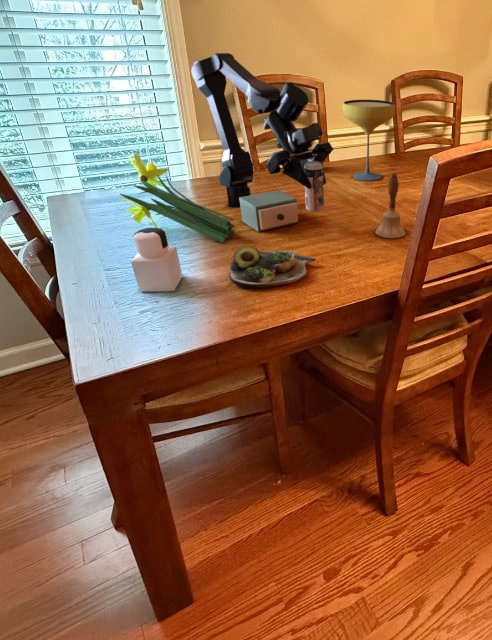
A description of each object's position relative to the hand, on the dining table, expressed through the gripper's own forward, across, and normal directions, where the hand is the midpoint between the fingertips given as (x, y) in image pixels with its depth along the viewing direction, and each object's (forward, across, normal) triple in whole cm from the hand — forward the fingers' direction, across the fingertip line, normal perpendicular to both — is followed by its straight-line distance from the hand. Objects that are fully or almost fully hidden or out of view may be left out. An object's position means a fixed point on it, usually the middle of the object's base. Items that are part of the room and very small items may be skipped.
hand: (317, 186), depth 119 cm
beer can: (+4, 0, +6) cm, 7 cm away
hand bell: (+19, +13, -1) cm, 23 cm away
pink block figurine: (+7, -44, +11) cm, 46 cm away
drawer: (-1, -4, +18) cm, 19 cm away
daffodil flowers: (-10, -23, +29) cm, 39 cm away
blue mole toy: (-27, +43, +46) cm, 68 cm away
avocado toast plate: (+15, -25, +3) cm, 29 cm away
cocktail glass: (-10, +51, +29) cm, 60 cm away
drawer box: (-2, -4, +20) cm, 21 cm away
